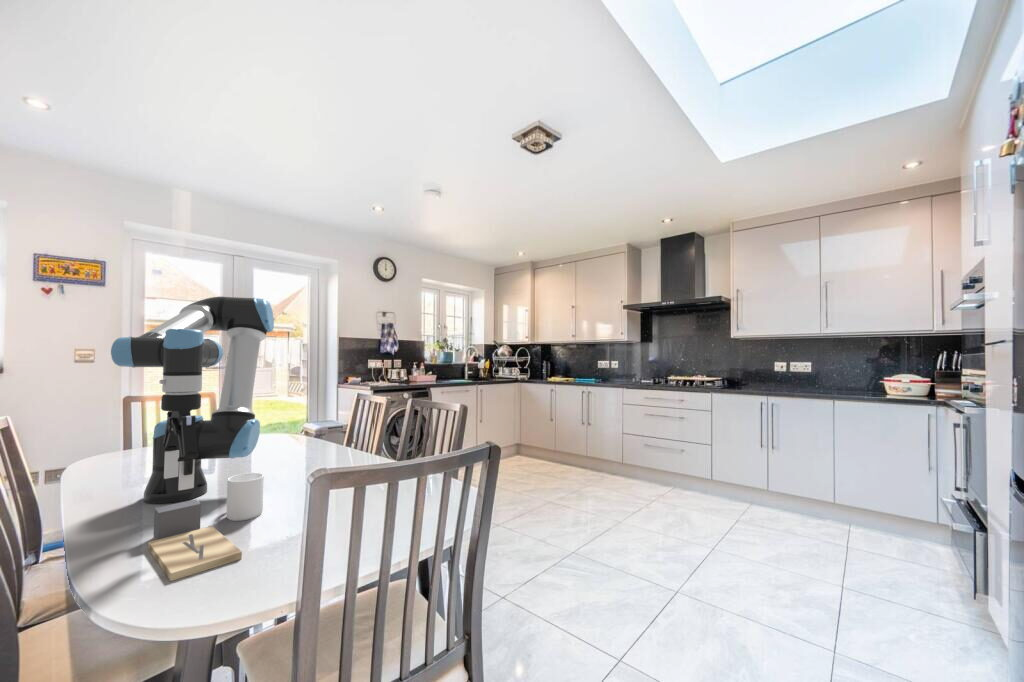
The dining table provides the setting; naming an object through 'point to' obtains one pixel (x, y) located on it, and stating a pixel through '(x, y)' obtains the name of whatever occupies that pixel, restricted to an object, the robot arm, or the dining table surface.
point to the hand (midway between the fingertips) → (178, 483)
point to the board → (193, 552)
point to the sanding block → (176, 519)
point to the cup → (245, 496)
